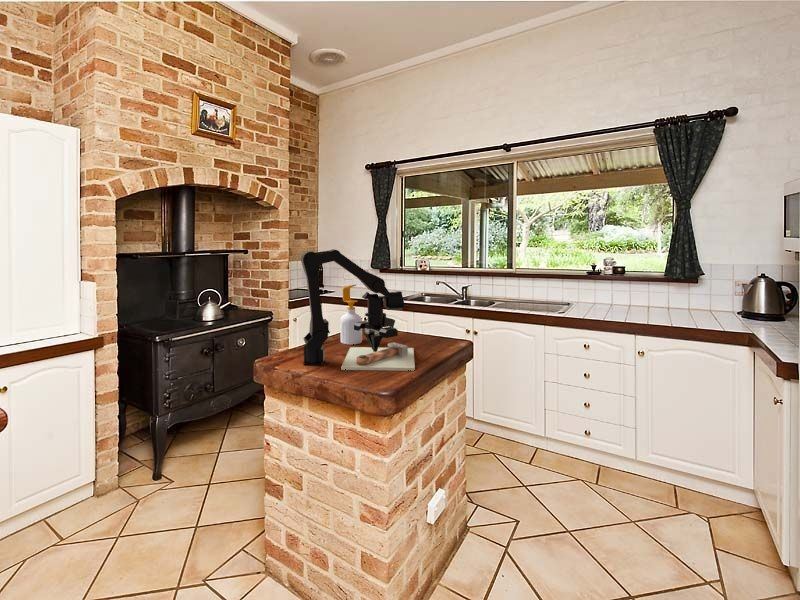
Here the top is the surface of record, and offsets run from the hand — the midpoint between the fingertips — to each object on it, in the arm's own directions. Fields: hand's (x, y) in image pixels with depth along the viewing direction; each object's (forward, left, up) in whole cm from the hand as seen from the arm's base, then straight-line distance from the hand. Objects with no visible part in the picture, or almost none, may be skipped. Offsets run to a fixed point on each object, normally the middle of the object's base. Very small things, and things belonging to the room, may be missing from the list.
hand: (375, 351), depth 168 cm
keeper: (+9, 0, -2) cm, 9 cm away
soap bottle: (-11, +22, -2) cm, 25 cm away
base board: (+2, -3, -2) cm, 4 cm away
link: (+2, -5, -1) cm, 5 cm away
